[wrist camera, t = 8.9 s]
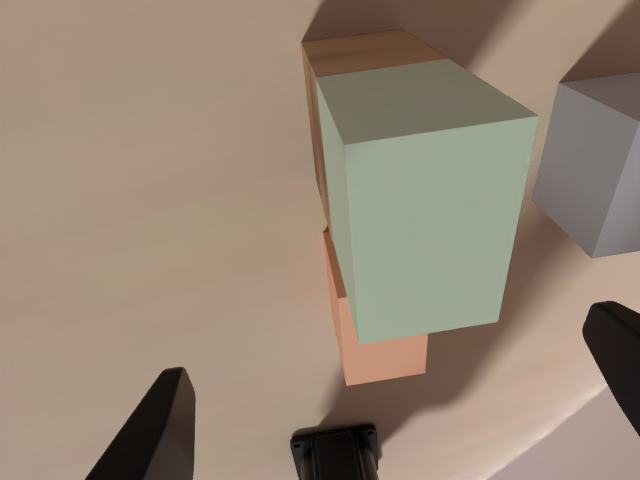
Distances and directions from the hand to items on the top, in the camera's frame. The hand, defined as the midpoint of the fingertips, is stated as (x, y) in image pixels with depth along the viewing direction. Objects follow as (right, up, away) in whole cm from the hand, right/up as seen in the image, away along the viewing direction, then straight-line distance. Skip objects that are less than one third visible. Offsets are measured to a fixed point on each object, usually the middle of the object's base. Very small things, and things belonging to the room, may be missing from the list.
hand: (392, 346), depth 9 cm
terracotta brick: (+1, +1, +14) cm, 14 cm away
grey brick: (+11, +7, +11) cm, 17 cm away
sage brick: (+1, +5, +5) cm, 7 cm away
